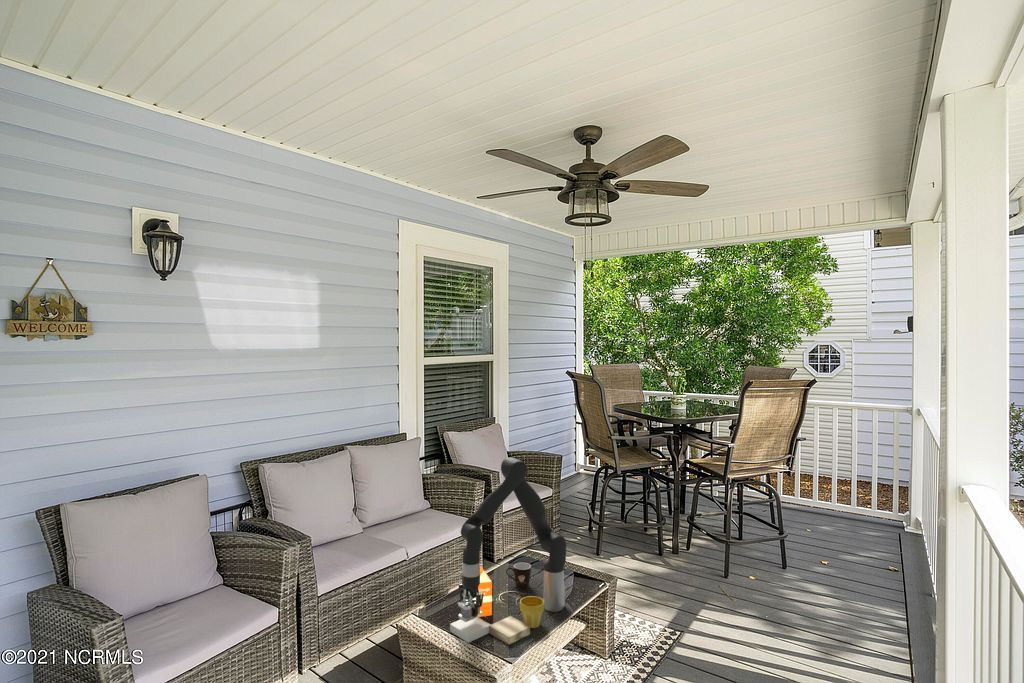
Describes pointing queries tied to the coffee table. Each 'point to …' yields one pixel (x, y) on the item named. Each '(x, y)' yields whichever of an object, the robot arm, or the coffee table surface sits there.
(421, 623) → the coffee table surface
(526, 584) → the coffee mug
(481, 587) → the orange juice
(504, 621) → the stand
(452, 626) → the stand
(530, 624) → the plant pot
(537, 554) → the coffee table surface
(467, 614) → the block
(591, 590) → the coffee table surface
